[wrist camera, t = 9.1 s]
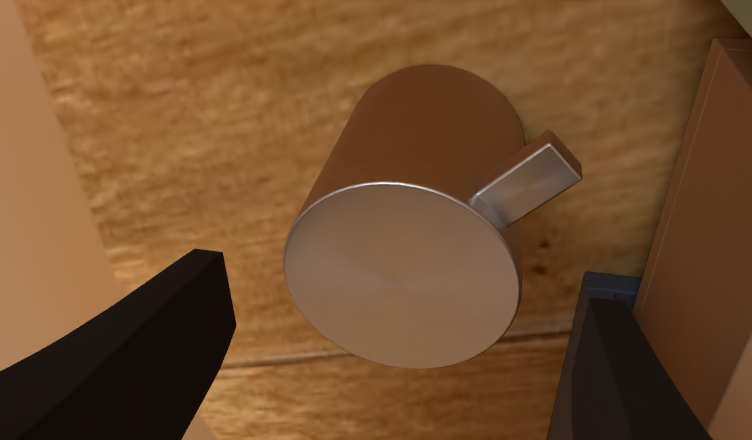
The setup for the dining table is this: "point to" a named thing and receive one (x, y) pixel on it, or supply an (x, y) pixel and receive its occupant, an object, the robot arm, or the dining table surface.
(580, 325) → the cabinet
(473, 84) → the measuring cup
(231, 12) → the dining table surface
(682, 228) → the drawer
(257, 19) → the dining table surface
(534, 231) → the dining table surface
